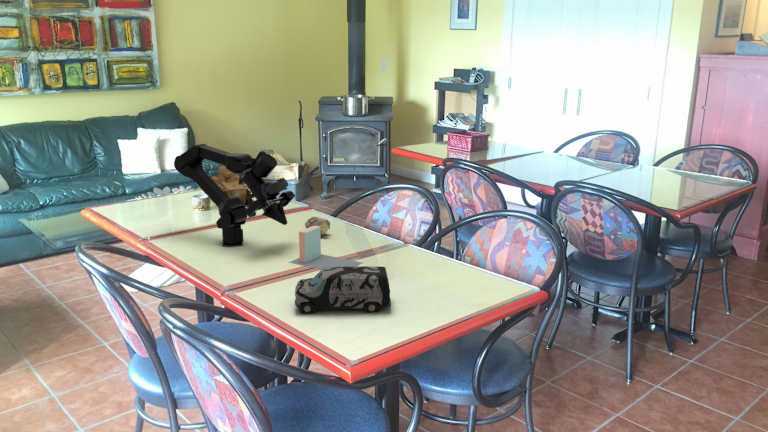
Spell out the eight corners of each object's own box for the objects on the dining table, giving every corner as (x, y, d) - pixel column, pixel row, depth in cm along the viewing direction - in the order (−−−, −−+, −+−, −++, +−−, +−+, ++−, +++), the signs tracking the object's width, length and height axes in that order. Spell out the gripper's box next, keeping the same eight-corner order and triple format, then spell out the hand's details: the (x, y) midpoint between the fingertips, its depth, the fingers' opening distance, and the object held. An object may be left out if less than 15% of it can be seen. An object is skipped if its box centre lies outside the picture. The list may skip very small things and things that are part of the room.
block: (299, 262, 199) (298, 231, 196) (315, 255, 206) (314, 225, 203) (305, 263, 198) (305, 232, 195) (321, 256, 204) (320, 226, 202)
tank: (224, 211, 260) (222, 175, 256) (210, 197, 284) (208, 164, 280) (254, 208, 266) (252, 173, 262) (238, 195, 289) (236, 162, 285)
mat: (288, 263, 199) (288, 262, 199) (311, 253, 209) (311, 252, 209) (341, 275, 189) (341, 274, 189) (363, 263, 199) (363, 262, 199)
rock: (327, 224, 221) (335, 213, 230) (296, 222, 223) (305, 211, 232) (328, 242, 223) (336, 230, 232) (297, 240, 226) (306, 228, 235)
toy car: (297, 299, 171) (296, 264, 169) (388, 298, 173) (389, 263, 170) (294, 315, 161) (292, 278, 158) (391, 314, 162) (391, 277, 160)
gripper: (251, 175, 194) (280, 215, 192) (289, 166, 210) (317, 203, 207) (233, 197, 200) (261, 236, 198) (272, 187, 216) (298, 223, 213)
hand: (286, 224), depth 204 cm, fingers closed
